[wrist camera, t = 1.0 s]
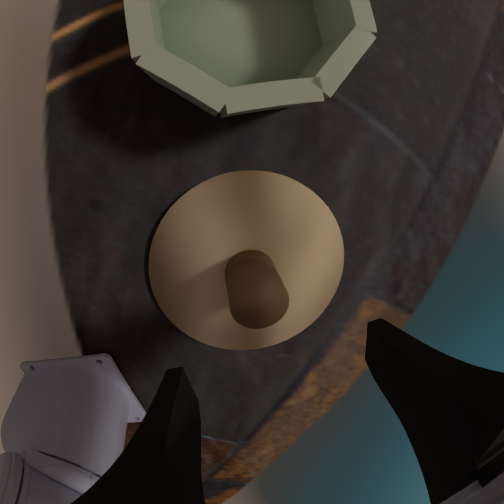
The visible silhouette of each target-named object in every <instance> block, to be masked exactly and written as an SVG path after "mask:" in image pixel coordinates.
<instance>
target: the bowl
mask: <svg viewBox="0 0 504 504" xmlns="http://www.w3.org/2000/svg"><path fill="white" fill-rule="evenodd" d="M123 1H124V10H125V18H126V25H127V33H128V40H129V46H130V53H131V58H132V59H133V60H134V61H135V62H136V65H137V66H139V67H140V68H141V69H142V70H143V71H144V72H145V73H147V74H148V75H149V76H150V77H151V78H152V79H153V80H154V81H156V82H157V83H159V84H161V85H162V86H164V87H166V88H168V89H169V90H171V91H173V92H175V93H176V94H178V95H180V96H181V97H183V98H185V99H186V100H188V101H190V102H191V103H193V104H195V105H196V106H198V107H200V108H201V109H203V110H205V111H206V112H208V113H209V114H211V115H213V116H214V117H216V115H217V114H218V113H219V112H220V116H221V118H224V117H230V116H235V115H241V114H247V113H253V112H259V111H266V110H273V109H280V108H288V107H294V106H299V105H304V104H310V103H315V102H321V101H324V99H325V98H331V96H332V95H333V94H334V92H335V91H336V90H337V88H338V87H339V86H340V84H341V83H342V82H343V80H344V79H345V78H346V77H347V75H348V74H349V73H350V71H351V70H352V69H353V67H354V66H355V65H356V63H357V62H358V61H359V59H360V58H361V57H362V56H363V54H364V53H365V52H366V50H367V49H368V48H369V46H370V45H371V44H372V43H373V41H374V40H375V39H376V37H375V36H374V35H373V34H374V33H376V32H377V29H376V25H375V21H374V17H373V13H372V9H371V5H370V2H369V0H123Z"/></svg>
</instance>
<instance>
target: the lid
mask: <svg viewBox="0 0 504 504" xmlns="http://www.w3.org/2000/svg"><path fill="white" fill-rule="evenodd" d="M343 264H344V247H343V239H342V236H341V232H340V228H339V226H338V224H337V222H336V219H335V217H334V216H333V214H332V212H331V211H330V209H329V208H328V207H327V205H326V204H325V203H324V202H323V201H322V199H321V198H320V197H318V196H317V195H316V194H315V193H314V192H313V191H312V190H310V189H309V188H307V187H305V186H304V185H302V184H301V183H299V182H298V181H295V180H293V179H291V178H289V177H287V176H284V175H280V174H277V173H273V172H267V171H260V170H242V171H235V172H228V173H225V174H221V175H218V176H215V177H212V178H210V179H208V180H205V181H203V182H201V183H200V184H198V185H196V186H195V187H193V188H191V189H190V190H188V191H187V192H186V193H185V194H184V195H182V196H181V197H180V198H179V199H178V200H177V201H176V202H175V203H174V204H173V205H172V206H171V207H170V208H169V210H168V211H167V213H166V214H165V216H164V217H163V219H162V220H161V222H160V224H159V226H158V228H157V230H156V232H155V235H154V238H153V241H152V244H151V248H150V254H149V278H150V284H151V287H152V291H153V294H154V296H155V298H156V301H157V303H158V305H159V306H160V308H161V309H162V311H163V313H164V314H165V315H166V316H167V318H168V319H169V320H170V321H171V322H172V323H173V324H174V325H175V326H176V327H177V328H178V329H180V330H181V331H182V332H184V333H185V334H187V335H188V336H190V337H192V338H193V339H195V340H197V341H199V342H202V343H204V344H207V345H210V346H214V347H218V348H223V349H230V350H251V349H258V348H264V347H268V346H271V345H275V344H278V343H280V342H282V341H285V340H287V339H289V338H291V337H293V336H295V335H297V334H298V333H300V332H301V331H302V330H304V329H305V328H307V327H308V326H309V325H310V324H311V323H313V322H314V321H315V320H316V319H317V318H318V317H319V316H320V315H321V314H322V312H323V311H324V310H325V308H326V307H327V306H328V304H329V303H330V301H331V299H332V298H333V296H334V294H335V292H336V290H337V287H338V285H339V282H340V279H341V275H342V271H343Z"/></svg>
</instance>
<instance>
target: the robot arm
mask: <svg viewBox="0 0 504 504" xmlns="http://www.w3.org/2000/svg"><path fill="white" fill-rule="evenodd" d="M99 360H101V361H99ZM365 360H366V363H367V365H368V367H369V369H370V371H371V374H372V376H373V378H374V380H375V381H376V383H377V384H378V386H379V388H380V389H381V391H382V392H383V394H384V396H385V397H386V399H387V400H388V402H389V403H390V405H391V407H392V408H393V410H394V411H395V413H396V415H397V416H398V418H399V419H400V421H401V423H402V425H403V427H404V429H405V431H406V433H407V436H408V438H409V440H410V442H411V445H412V447H413V449H414V452H415V454H416V457H417V459H418V462H419V465H420V467H421V471H422V473H423V477H424V480H425V483H426V486H427V490H428V494H429V498H430V502H431V504H504V373H503V372H498V371H493V370H489V369H485V368H482V367H478V366H475V365H472V364H468V363H466V362H463V361H461V360H458V359H456V358H453V357H450V356H448V355H446V354H444V353H442V352H440V351H438V350H436V349H434V348H432V347H430V346H428V345H426V344H424V343H422V342H421V341H419V340H417V339H415V338H414V337H412V336H410V335H409V334H407V333H405V332H404V331H402V330H400V329H399V328H397V327H396V326H394V325H392V324H391V323H389V322H387V321H385V320H384V319H382V318H380V319H377V320H374V321H371V322H368V326H367V340H366V353H365ZM20 367H21V369H22V370H23V372H24V373H25V375H24V377H23V379H22V381H21V383H20V385H19V387H18V389H17V391H16V393H15V395H14V397H13V399H12V402H11V404H10V406H9V408H8V410H7V413H6V415H5V417H4V419H3V423H2V428H1V438H2V444H3V448H4V450H5V453H2V454H1V455H0V504H205V500H204V493H203V486H202V478H201V420H200V411H199V403H198V399H197V397H196V395H195V392H194V390H193V388H192V386H191V384H190V382H189V379H188V377H187V375H186V373H185V371H184V368H183V367H179V368H172V369H167V371H166V372H165V375H164V377H163V379H162V381H161V384H160V386H159V388H158V390H157V392H156V395H155V397H154V399H153V401H152V403H151V405H150V407H149V409H148V411H147V413H146V412H145V410H144V409H143V407H142V406H141V404H140V403H139V401H138V400H137V398H136V397H135V395H134V394H133V392H132V390H131V389H130V387H129V386H128V384H127V382H126V381H125V379H124V377H123V376H122V374H121V372H120V371H119V369H118V367H117V366H116V364H115V362H114V360H113V359H112V357H111V356H110V355H108V354H106V353H102V354H94V355H86V356H78V357H69V358H60V359H50V360H39V361H27V362H22V363H21V365H20ZM128 422H141V423H140V425H139V427H138V429H137V430H136V432H135V434H134V435H133V437H132V439H131V440H130V442H129V443H128V444H127V446H126V447H125V449H124V442H125V435H126V428H127V423H128ZM123 449H124V450H123Z"/></svg>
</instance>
